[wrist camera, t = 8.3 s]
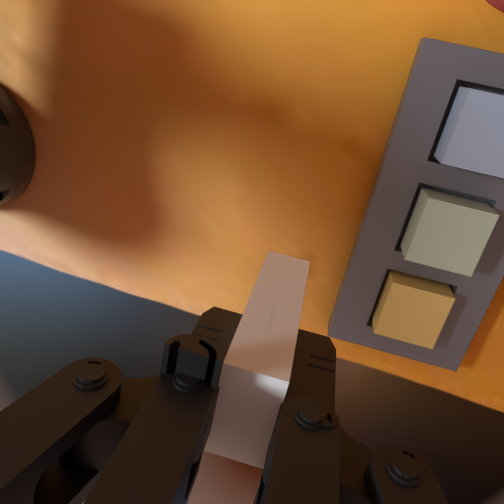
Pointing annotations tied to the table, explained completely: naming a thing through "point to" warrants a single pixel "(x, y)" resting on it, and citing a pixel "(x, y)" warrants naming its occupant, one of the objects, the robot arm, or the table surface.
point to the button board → (404, 200)
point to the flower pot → (497, 4)
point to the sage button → (448, 231)
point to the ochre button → (412, 308)
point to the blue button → (474, 133)
